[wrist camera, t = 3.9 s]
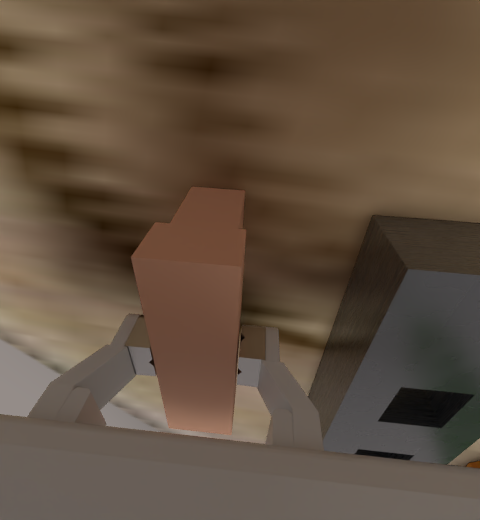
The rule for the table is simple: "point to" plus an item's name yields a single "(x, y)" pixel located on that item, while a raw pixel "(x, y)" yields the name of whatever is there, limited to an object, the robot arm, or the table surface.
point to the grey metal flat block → (406, 345)
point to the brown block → (195, 306)
